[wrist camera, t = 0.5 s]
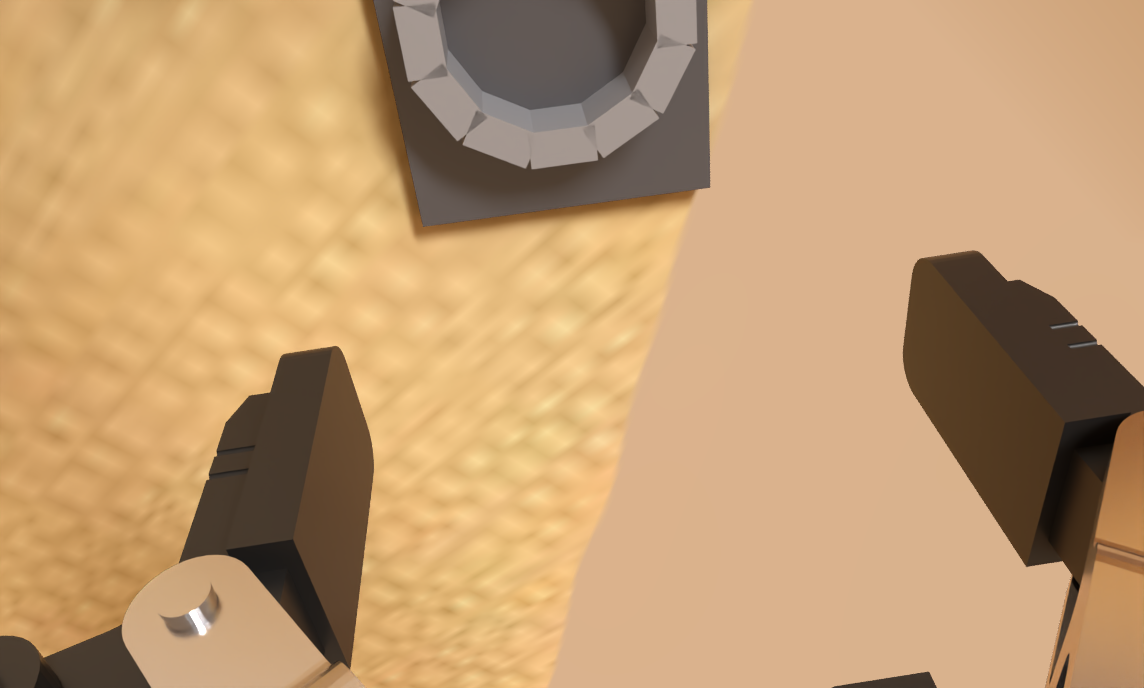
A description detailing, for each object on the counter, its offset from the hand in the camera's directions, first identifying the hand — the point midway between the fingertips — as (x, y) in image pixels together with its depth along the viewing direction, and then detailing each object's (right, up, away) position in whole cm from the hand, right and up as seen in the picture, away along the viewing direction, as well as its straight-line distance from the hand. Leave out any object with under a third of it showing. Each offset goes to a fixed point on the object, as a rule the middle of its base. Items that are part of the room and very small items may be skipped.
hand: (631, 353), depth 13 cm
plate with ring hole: (-2, +13, +21) cm, 25 cm away
